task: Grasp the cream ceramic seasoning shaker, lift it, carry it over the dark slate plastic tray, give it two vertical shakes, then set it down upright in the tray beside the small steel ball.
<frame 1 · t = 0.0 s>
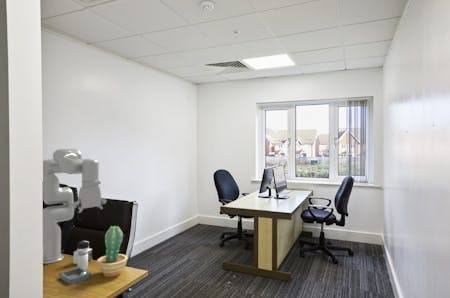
hand: (89, 218, 145), 31 cm above the table, fingers open, 9 cm apart
medicine bottle: (83, 262, 169), on the table
potted cactus: (112, 274, 153), on the table
steel ball: (83, 278, 147), point 1 cm above the table, touching tray
shaker: (82, 269, 159), on the table
tray: (75, 279, 147), on the table
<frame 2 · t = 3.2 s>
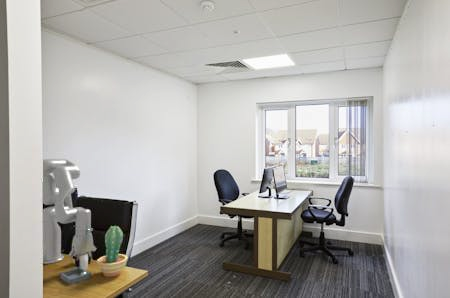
hand: (82, 265, 159), 2 cm above the table, fingers closed on shaker, 5 cm apart
shaker: (82, 269, 159), on the table, touching gripper
everything else where it was.
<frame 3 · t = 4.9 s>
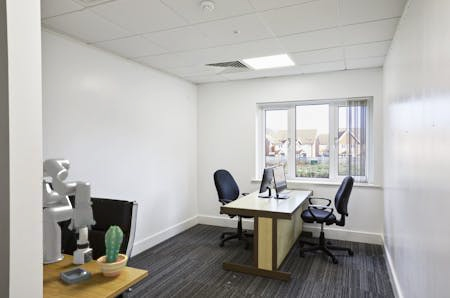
hand: (82, 238, 158), 17 cm above the table, fingers closed on shaker, 5 cm apart
shaker: (82, 242, 158), point 15 cm above the table, touching gripper
everything else where it was.
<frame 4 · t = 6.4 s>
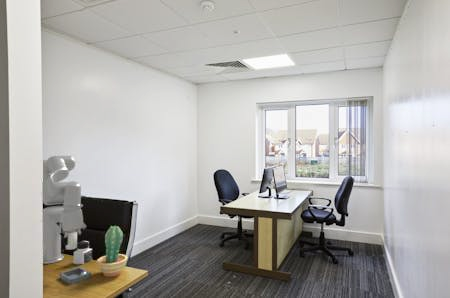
hand: (71, 242, 148), 18 cm above the table, fingers closed on shaker, 5 cm apart
shaker: (71, 247, 148), point 15 cm above the table, touching gripper
everything else where it was.
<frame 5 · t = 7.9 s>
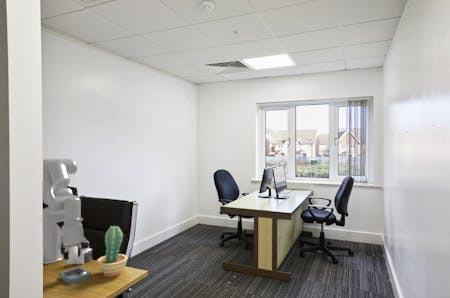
hand: (72, 257, 147), 11 cm above the table, fingers closed on shaker, 5 cm apart
shaker: (72, 262, 147), point 8 cm above the table, touching gripper
everything else where it was.
when the fingers open (5 cm above the table, at t = 9.3 s): shaker drops 2 cm, resting on tray.
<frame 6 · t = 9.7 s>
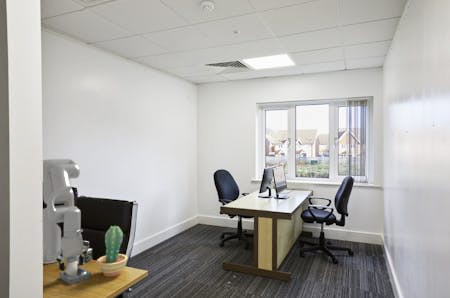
hand: (71, 267, 148), 6 cm above the table, fingers open, 9 cm apart
shaker: (71, 277, 147), point 1 cm above the table, touching tray
everything else where it was.
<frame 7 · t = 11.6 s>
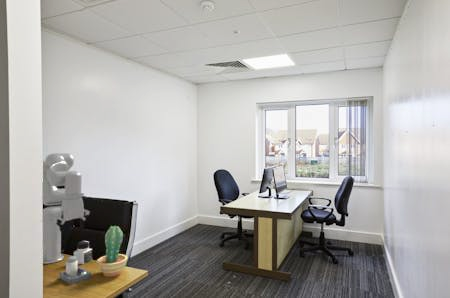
hand: (72, 229, 149), 24 cm above the table, fingers open, 9 cm apart
nothing on the table moved.
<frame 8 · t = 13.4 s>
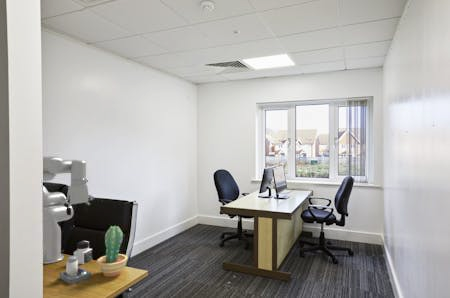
hand: (78, 213, 161), 30 cm above the table, fingers open, 9 cm apart
nothing on the table moved.
at the end: shaker inside the target area on the tray (2.2 cm from its centre), point 0.7 cm above the tray's base; shaker tilted 2°; the gripper is holding nothing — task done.
